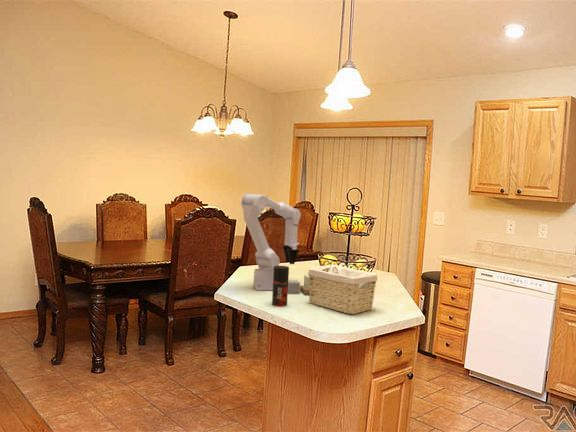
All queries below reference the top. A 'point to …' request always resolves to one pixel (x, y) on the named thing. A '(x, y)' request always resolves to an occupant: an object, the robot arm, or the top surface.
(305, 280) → the beige cube
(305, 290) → the walnut slab
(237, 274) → the top surface
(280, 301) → the deodorant
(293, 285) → the slate cube
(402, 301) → the top surface
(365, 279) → the storage basket
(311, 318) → the top surface
